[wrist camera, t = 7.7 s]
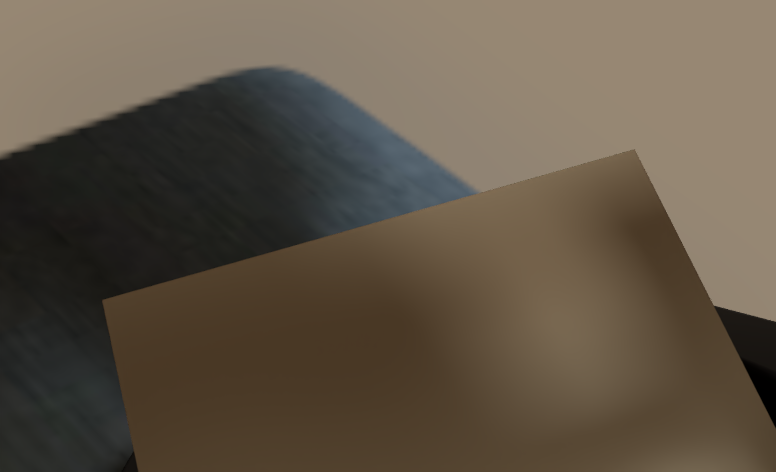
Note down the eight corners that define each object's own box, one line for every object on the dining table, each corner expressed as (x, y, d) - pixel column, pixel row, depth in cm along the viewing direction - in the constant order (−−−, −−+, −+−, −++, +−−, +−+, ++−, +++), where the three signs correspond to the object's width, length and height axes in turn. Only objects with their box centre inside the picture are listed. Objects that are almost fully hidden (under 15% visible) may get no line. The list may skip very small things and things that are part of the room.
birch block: (514, 502, 15) (871, 620, 5) (285, 599, 14) (244, 977, 4) (443, 313, 16) (634, 149, 7) (229, 384, 15) (102, 300, 5)
